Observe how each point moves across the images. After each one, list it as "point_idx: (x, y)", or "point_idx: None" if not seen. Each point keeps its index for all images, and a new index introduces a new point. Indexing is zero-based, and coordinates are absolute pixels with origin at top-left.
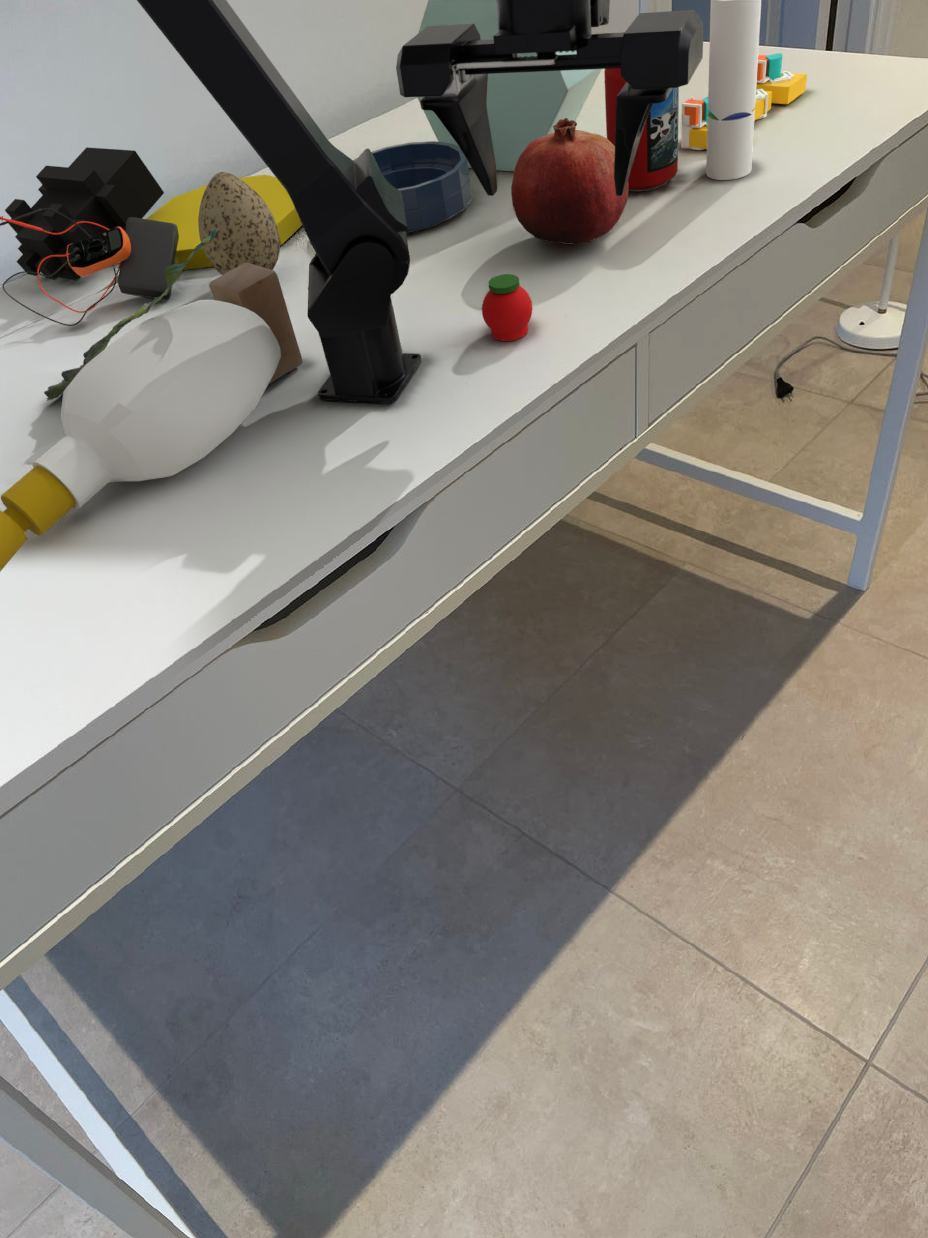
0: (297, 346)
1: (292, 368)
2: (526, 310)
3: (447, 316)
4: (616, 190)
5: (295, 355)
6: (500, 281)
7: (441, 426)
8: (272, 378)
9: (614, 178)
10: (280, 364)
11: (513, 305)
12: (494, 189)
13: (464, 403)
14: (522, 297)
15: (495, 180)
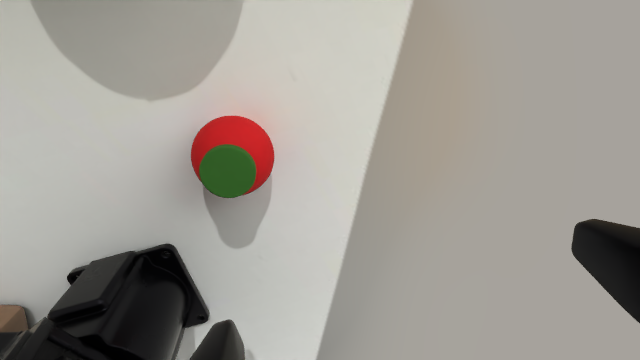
0: (5, 327)
1: (26, 321)
2: (273, 162)
3: (106, 132)
4: (587, 268)
5: (15, 325)
6: (223, 176)
7: (283, 318)
8: None
9: (620, 303)
10: None
11: (261, 182)
12: (238, 343)
13: (281, 284)
14: (265, 164)
15: (231, 351)
